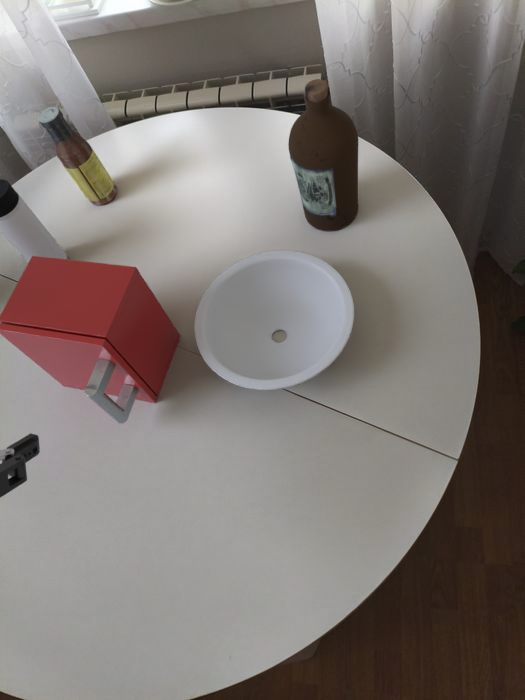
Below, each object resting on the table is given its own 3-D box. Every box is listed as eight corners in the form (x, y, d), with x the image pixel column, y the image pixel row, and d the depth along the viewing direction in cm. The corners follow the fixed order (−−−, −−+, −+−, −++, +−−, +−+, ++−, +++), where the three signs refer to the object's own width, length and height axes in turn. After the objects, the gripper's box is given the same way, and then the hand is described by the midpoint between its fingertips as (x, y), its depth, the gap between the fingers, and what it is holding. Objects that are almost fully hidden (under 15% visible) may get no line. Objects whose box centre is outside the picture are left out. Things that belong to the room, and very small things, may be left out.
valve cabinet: (158, 396, 87) (105, 336, 70) (66, 379, 91) (-3, 320, 75) (181, 336, 91) (136, 266, 75) (92, 323, 96) (32, 255, 80)
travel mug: (42, 286, 102) (-27, 211, 85) (35, 261, 106) (-32, 185, 89) (73, 271, 103) (10, 194, 86) (65, 247, 106) (3, 169, 89)
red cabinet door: (143, 436, 84) (85, 384, 68) (49, 416, 89) (-26, 364, 72) (157, 397, 86) (105, 339, 70) (65, 380, 91) (-3, 322, 75)
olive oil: (319, 182, 101) (301, 55, 80) (372, 197, 97) (368, 68, 76) (290, 224, 98) (263, 103, 76) (344, 242, 94) (332, 120, 72)
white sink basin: (252, 257, 96) (244, 232, 90) (382, 302, 87) (381, 277, 81) (178, 370, 88) (163, 351, 82) (311, 433, 79) (306, 416, 73)
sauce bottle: (117, 180, 112) (69, 95, 95) (118, 202, 109) (68, 119, 92) (87, 189, 113) (33, 106, 96) (87, 211, 110) (32, 129, 93)
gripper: (-86, 497, 41) (56, 413, 56) (-219, 460, 45) (-54, 391, 60) (-72, 579, 44) (61, 478, 58) (-199, 537, 48) (-45, 453, 62)
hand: (3, 434), depth 59 cm, fingers open, 8 cm apart
